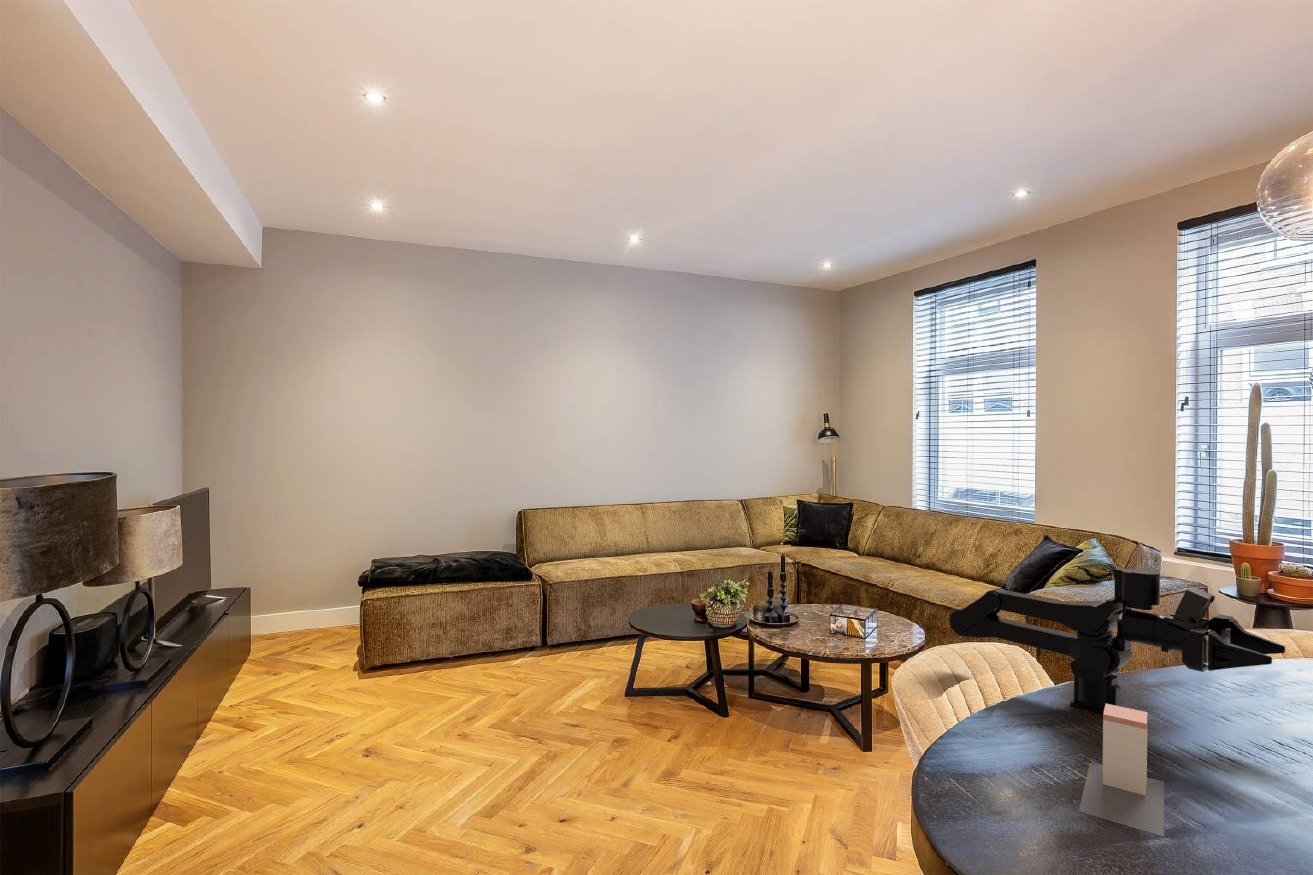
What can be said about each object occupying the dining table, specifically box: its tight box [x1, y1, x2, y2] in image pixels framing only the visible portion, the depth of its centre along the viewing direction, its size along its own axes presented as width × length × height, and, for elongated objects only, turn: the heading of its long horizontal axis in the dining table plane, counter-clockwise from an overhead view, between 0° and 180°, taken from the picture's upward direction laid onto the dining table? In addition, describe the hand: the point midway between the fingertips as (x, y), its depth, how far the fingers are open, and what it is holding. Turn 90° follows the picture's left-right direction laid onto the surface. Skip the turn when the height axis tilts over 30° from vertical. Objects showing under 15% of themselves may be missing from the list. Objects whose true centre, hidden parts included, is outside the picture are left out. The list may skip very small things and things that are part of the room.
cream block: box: [1102, 704, 1148, 796], centre depth 95 cm, size 5×5×10 cm
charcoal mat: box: [1078, 762, 1165, 838], centre depth 91 cm, size 17×9×1 cm, turn 142°
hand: (1278, 654), depth 104 cm, fingers open, 9 cm apart
